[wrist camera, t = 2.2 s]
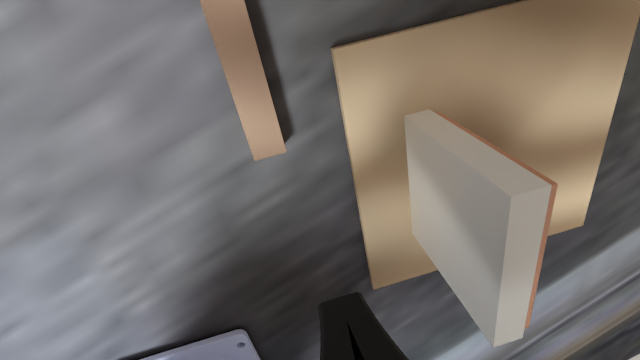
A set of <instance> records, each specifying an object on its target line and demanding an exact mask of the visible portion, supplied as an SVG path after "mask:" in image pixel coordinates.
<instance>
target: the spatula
mask: <svg viewBox="0 0 640 360" xmlns="http://www.w3.org/2000/svg"><path fill="white" fill-rule="evenodd" d="M200 2H201V5H202V8H203V11H204V14H205V17H206V20H207V23H208V26H209V29H210V32H211V35H212V38H213V41H214V43H215V46H216V49H217V52H218V55H219V58H220V61H221V64H222V67H223V70H224V73H225V76H226V79H227V82H228V85H229V87H230V90H231V93H232V96H233V99H234V102H235V105H236V108H237V111H238V114H239V117H240V120H241V123H242V126H243V129H244V131H245V134H246V137H247V140H248V143H249V146H250V149H251V152H252V155H253V158H254V161H256V160H260V159H263V158H267V157H271V156H275V155H278V154H282V153H286V148H285V144H284V140H283V137H282V133H281V130H280V126H279V122H278V119H277V115H276V112H275V108H274V105H273V101H272V97H271V94H270V90H269V87H268V83H267V80H266V76H265V72H264V69H263V65H262V62H261V58H260V55H259V51H258V47H257V44H256V40H255V37H254V33H253V29H252V26H251V22H250V19H249V15H248V12H247V8H246V4H245V1H244V0H200Z"/></svg>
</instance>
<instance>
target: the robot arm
mask: <svg viewBox="0 0 640 360" xmlns="http://www.w3.org/2000/svg"><path fill="white" fill-rule="evenodd" d="M318 309H319V316H320V332H321V349H320V360H409V359H408V358H407V357H406V356H405V355H404V354H403V352H402V351H401V350H400V349H399V347H398V346H397V345H396V344H395V342H394V341H393V340H392V339H391V337H390V336H389V335H388V334H387V332H386V331H385V330H384V328H383V327H382V326H381V324H380V323H379V321H378V320H377V319H376V317H375V316H374V314H373V313H372V311H371V310H370V308H369V306H368V305H367V303H366V301H365V300H364V298H363V296H362V294H361V293H359V292H356V293H352V294H349V295H346V296H342V297H339V298H336V299H333V300H329V301H326V302H323V303H321V304H320V305H319V306H318ZM139 360H260V358H259V356H258V354H257V352H256V350H255V348H254V346H253V344H252V342H251V340H250V338H249V336H248V334H247V332H246V331H244V330H242V329H238V330H234V331H231V332H227V333H224V334H221V335H218V336H214V337H211V338H208V339H205V340H201V341H198V342H195V343H191V344H188V345H185V346H182V347H178V348H175V349H172V350H169V351H165V352H162V353H159V354H156V355H152V356H149V357H146V358H143V359H139Z"/></svg>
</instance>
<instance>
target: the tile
mask: <svg viewBox="0 0 640 360" xmlns="http://www.w3.org/2000/svg"><path fill="white" fill-rule="evenodd" d="M404 121H405V135H406V149H407V163H408V177H409V191H410V205H411V219H412V234H413V235H414V236H415V238H416V239H417V241H418V242H419V243H420V245H421V246H422V248H423V249H424V251H425V252H426V253H427V255H428V256H429V258H430V259H431V260H432V262H433V263H434V265H435V266H436V267H437V269H438V270H439V272H440V273H441V275H442V276H443V277H444V279H445V280H446V282H447V283H448V284H449V286H450V287H451V289H452V290H453V291H454V293H455V294H456V296H457V297H458V299H459V300H460V301H461V303H462V304H463V306H464V307H465V308H466V310H467V311H468V313H469V314H470V315H471V317H472V318H473V320H474V321H475V323H476V324H477V325H478V327H479V328H480V330H481V331H482V332H483V334H484V335H485V337H486V338H487V340H488V341H489V342H490V344H491V345H492V347H493V348H494V347H497V346H500V345H503V344H506V343H509V342H512V341H515V340H518V339H521V338H523V332H524V329H525V328H528V327H529V324H530V319H531V314H532V309H533V304H534V299H535V295H536V290H537V285H538V280H539V275H540V270H541V265H542V260H543V255H544V250H545V245H546V241H547V236H548V231H549V226H550V221H551V216H552V211H553V206H554V201H555V196H556V191H557V187H558V183H556V182H554V181H553V180H551V179H549V178H548V177H546V176H544V175H543V174H541V173H539V172H538V171H536V170H534V169H533V168H531V167H529V166H528V165H526V164H525V163H523V162H521V161H520V160H518V159H516V158H515V157H513V156H511V155H510V154H508V153H506V152H505V151H503V150H501V149H500V148H498V147H496V146H495V145H493V144H491V143H490V142H488V141H486V140H485V139H483V138H481V137H480V136H478V135H476V134H475V133H473V132H471V131H470V130H468V129H466V128H465V127H463V126H461V125H460V124H458V123H456V122H455V121H453V120H452V119H450V118H448V117H447V116H445V115H443V114H442V113H440V112H439V113H435V112H433V111H431V110H430V109H428V110H424V111H420V112H417V113H413V114H409V115H406V116H404Z"/></svg>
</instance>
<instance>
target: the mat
mask: <svg viewBox="0 0 640 360" xmlns="http://www.w3.org/2000/svg"><path fill="white" fill-rule="evenodd" d="M639 16H640V0H521V1H517V2H513V3H509V4H505V5H501V6H497V7H493V8H489V9H485V10H481V11H477V12H473V13H469V14H465V15H461V16H457V17H453V18H449V19H445V20H441V21H437V22H433V23H429V24H425V25H421V26H417V27H413V28H409V29H405V30H401V31H397V32H393V33H389V34H385V35H381V36H377V37H373V38H369V39H365V40H361V41H357V42H353V43H349V44H345V45H341V46H337V47H333V48H331V53H332V59H333V65H334V71H335V77H336V82H337V88H338V94H339V100H340V106H341V111H342V117H343V123H344V129H345V135H346V140H347V146H348V152H349V158H350V164H351V169H352V175H353V181H354V187H355V193H356V199H357V204H358V210H359V216H360V222H361V228H362V233H363V239H364V245H365V251H366V257H367V262H368V268H369V274H370V280H371V285H372V287H373V290H375V289H378V288H381V287H384V286H388V285H391V284H394V283H397V282H401V281H404V280H407V279H410V278H414V277H417V276H420V275H423V274H427V273H430V272H433V271H436V270H438V269H437V267H436V266H435V265H434V263H433V262H432V260H431V259H430V258H429V256H428V255H427V253H426V252H425V251H424V249H423V248H422V246H421V245H420V243H419V242H418V241H417V239H416V238H415V236H414V235H413V234H412V219H411V205H410V191H409V177H408V163H407V149H406V135H405V121H404V116H406V115H409V114H413V113H417V112H420V111H424V110H428V109H430V110H431V111H433V112H435V113H439V112H440V113H442V114H443V115H445V116H447V117H448V118H450V119H452V120H453V121H455V122H456V123H458V124H460V125H461V126H463V127H465V128H466V129H468V130H470V131H471V132H473V133H475V134H476V135H478V136H480V137H481V138H483V139H485V140H486V141H488V142H490V143H491V144H493V145H495V146H496V147H498V148H500V149H501V150H503V151H505V152H506V153H508V154H510V155H511V156H513V157H515V158H516V159H518V160H520V161H521V162H523V163H525V164H526V165H528V166H529V167H531V168H533V169H534V170H536V171H538V172H539V173H541V174H543V175H544V176H546V177H548V178H549V179H551V180H553V181H554V182H556V183H558V187H557V191H556V196H555V201H554V206H553V211H552V216H551V221H550V226H549V231H548V236H550V235H553V234H556V233H560V232H563V231H566V230H569V229H573V228H576V227H579V226H582V225H583V223H584V220H585V216H586V212H587V209H588V205H589V201H590V198H591V194H592V190H593V186H594V183H595V179H596V175H597V172H598V168H599V164H600V161H601V157H602V153H603V149H604V146H605V142H606V138H607V135H608V131H609V127H610V124H611V120H612V116H613V112H614V109H615V105H616V101H617V98H618V94H619V90H620V87H621V83H622V79H623V75H624V72H625V68H626V64H627V61H628V57H629V53H630V50H631V46H632V42H633V39H634V35H635V31H636V27H637V24H638V20H639Z"/></svg>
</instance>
